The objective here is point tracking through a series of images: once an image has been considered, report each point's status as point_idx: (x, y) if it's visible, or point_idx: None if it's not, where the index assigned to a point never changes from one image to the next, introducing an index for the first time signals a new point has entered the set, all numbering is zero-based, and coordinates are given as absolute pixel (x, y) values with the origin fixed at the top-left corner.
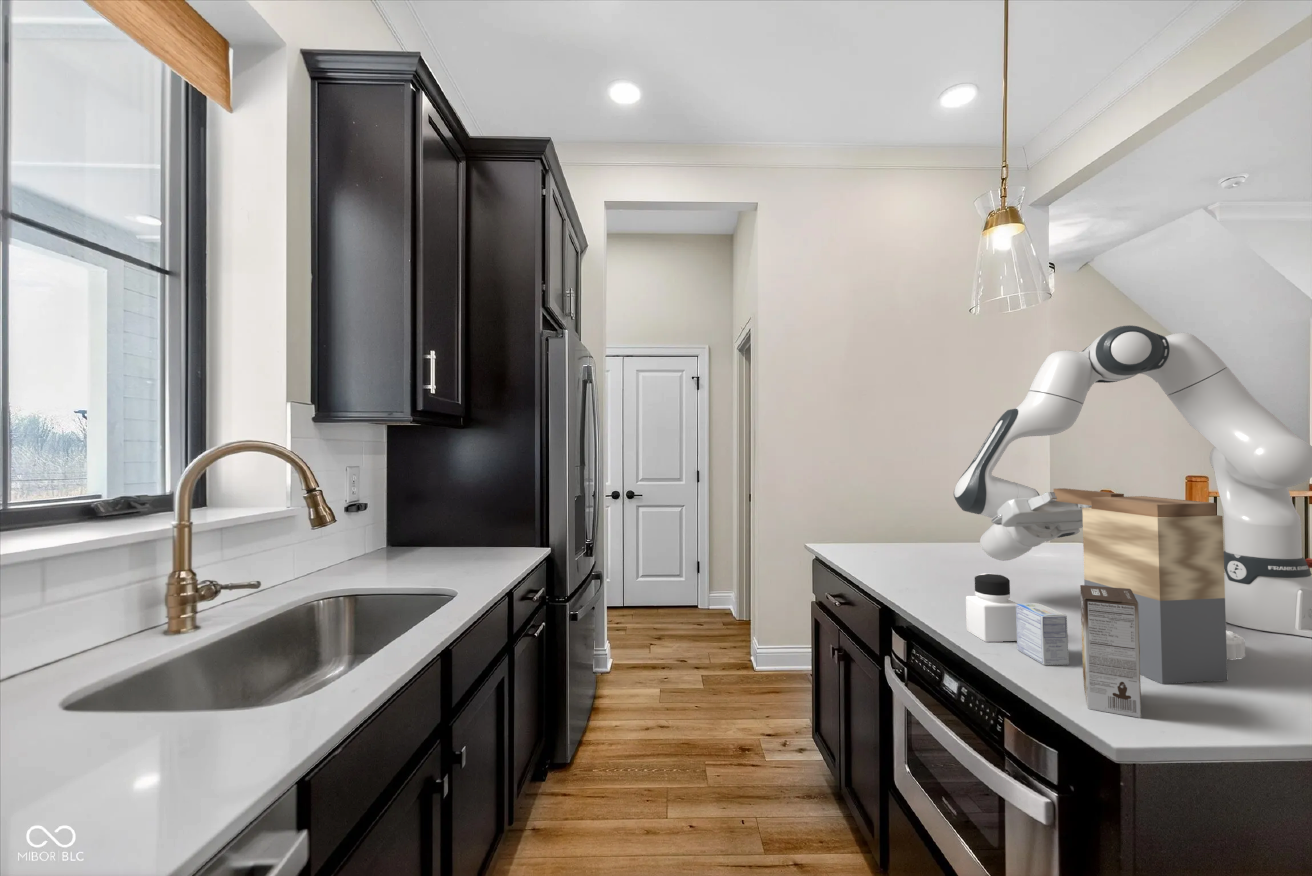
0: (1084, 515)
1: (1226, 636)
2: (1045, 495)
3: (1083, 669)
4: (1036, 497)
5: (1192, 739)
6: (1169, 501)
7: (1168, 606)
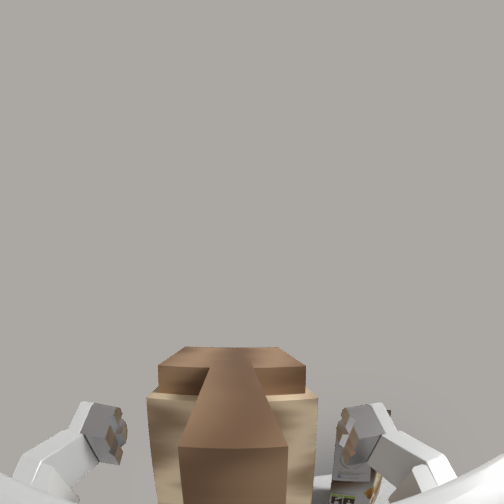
0: (315, 414)
1: None
2: (384, 420)
3: (377, 487)
4: (420, 445)
5: (328, 475)
6: (222, 351)
7: None
